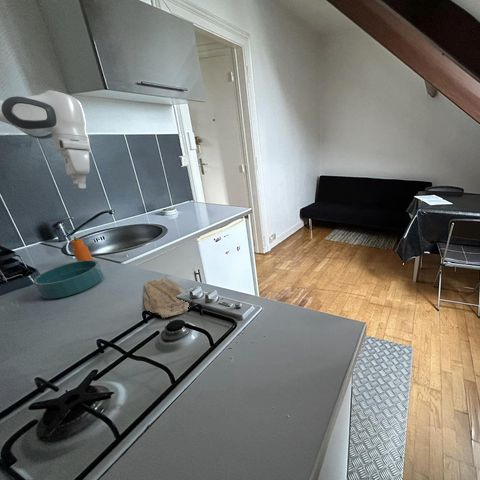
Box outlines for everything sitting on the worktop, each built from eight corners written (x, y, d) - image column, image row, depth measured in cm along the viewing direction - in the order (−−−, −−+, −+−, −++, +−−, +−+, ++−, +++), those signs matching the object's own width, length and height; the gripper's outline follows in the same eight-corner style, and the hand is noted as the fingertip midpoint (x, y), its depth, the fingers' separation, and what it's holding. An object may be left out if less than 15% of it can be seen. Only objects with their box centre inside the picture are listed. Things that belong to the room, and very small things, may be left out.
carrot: (82, 268, 96) (69, 239, 92) (78, 265, 98) (64, 237, 94) (96, 263, 99) (84, 235, 95) (91, 261, 101) (79, 233, 97)
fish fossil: (131, 289, 80) (130, 286, 79) (167, 277, 87) (166, 274, 86) (162, 323, 63) (160, 319, 63) (203, 305, 70) (202, 301, 70)
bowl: (52, 305, 74) (43, 289, 72) (34, 292, 82) (26, 277, 79) (112, 280, 86) (106, 265, 84) (92, 270, 93) (86, 257, 91)
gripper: (56, 148, 91) (63, 188, 94) (63, 141, 78) (71, 188, 80) (80, 150, 96) (87, 188, 98) (90, 143, 82) (98, 188, 85)
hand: (80, 188), depth 89 cm, fingers open, 8 cm apart
